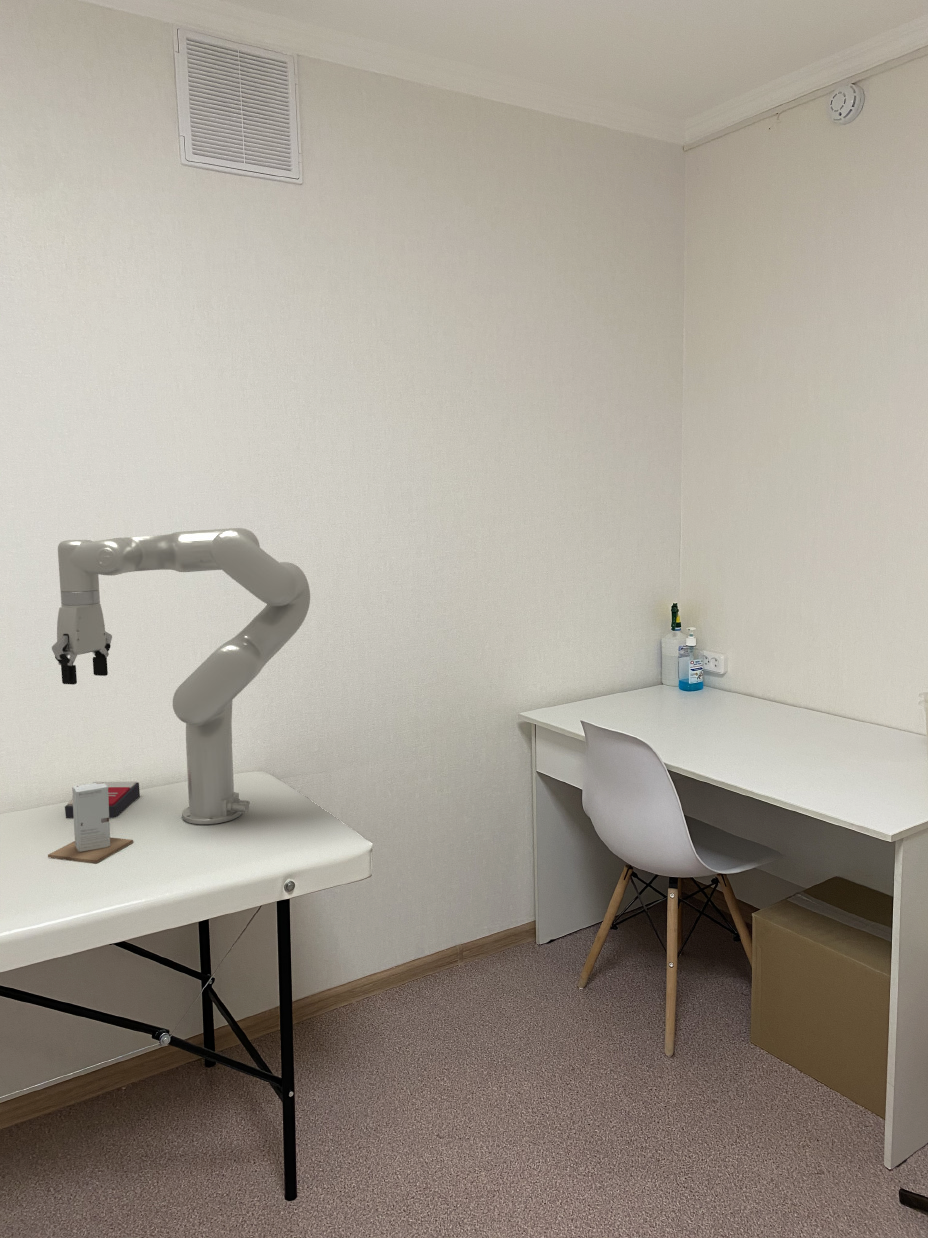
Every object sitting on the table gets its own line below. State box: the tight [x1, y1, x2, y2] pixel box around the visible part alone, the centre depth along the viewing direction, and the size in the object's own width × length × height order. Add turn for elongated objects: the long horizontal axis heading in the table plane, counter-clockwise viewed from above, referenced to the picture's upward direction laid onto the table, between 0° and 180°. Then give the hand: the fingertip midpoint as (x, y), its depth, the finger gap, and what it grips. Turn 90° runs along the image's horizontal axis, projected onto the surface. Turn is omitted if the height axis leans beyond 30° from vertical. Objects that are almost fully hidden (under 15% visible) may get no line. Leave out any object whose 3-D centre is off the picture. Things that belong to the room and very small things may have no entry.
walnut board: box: [47, 836, 134, 864], centre depth 179 cm, size 11×11×1 cm
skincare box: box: [71, 781, 111, 852], centre depth 179 cm, size 6×4×12 cm
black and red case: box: [64, 781, 141, 819], centre depth 205 cm, size 11×4×15 cm
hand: (85, 679), depth 194 cm, fingers open, 9 cm apart
